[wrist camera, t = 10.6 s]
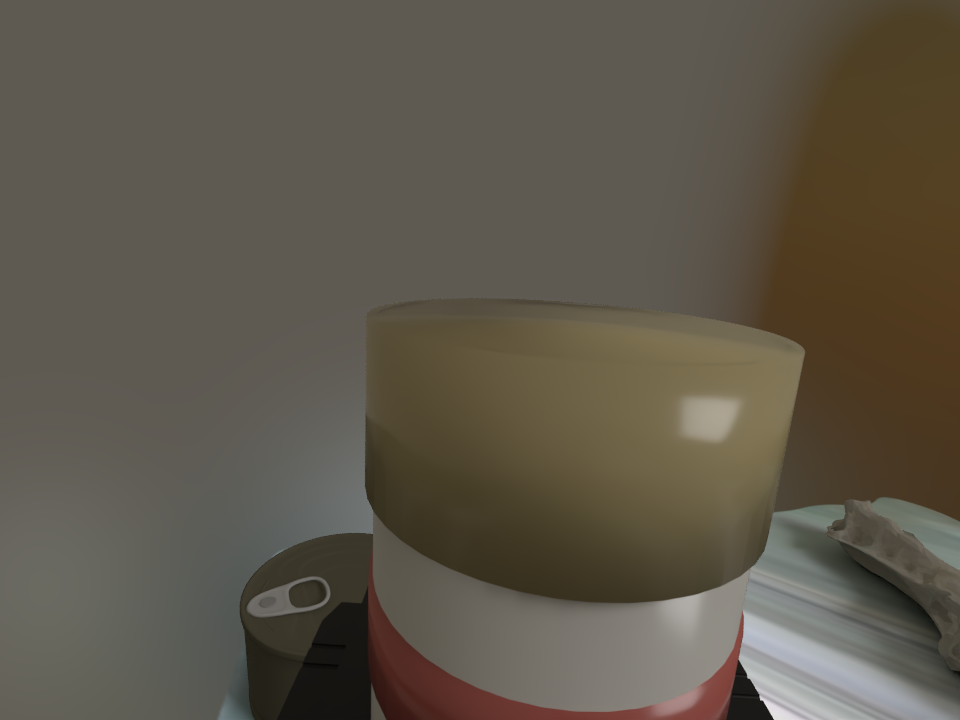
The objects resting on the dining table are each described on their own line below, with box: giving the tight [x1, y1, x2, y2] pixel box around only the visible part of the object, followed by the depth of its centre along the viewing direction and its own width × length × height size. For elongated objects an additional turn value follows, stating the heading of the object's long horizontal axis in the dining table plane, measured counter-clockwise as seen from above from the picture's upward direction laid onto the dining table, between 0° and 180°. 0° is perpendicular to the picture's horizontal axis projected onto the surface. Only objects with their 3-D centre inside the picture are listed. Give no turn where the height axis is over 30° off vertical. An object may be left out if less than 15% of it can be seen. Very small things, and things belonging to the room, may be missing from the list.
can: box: [240, 533, 373, 720], centre depth 34 cm, size 12×12×7 cm
